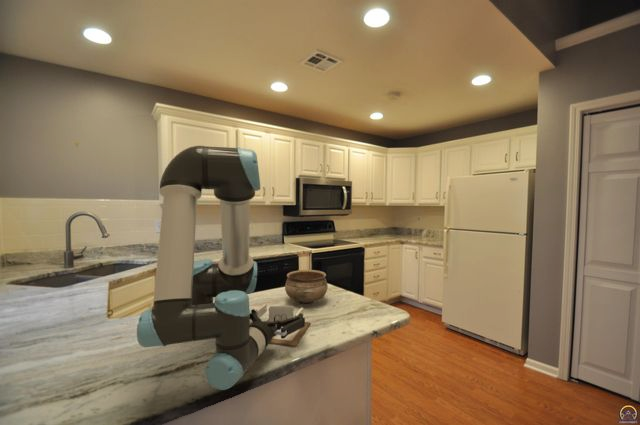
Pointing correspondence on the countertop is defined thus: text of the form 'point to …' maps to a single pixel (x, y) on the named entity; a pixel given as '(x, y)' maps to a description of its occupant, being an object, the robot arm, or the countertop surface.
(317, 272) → the cooking pot
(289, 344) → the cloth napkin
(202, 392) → the countertop surface
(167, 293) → the robot arm
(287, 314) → the electrical switch
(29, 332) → the countertop surface
